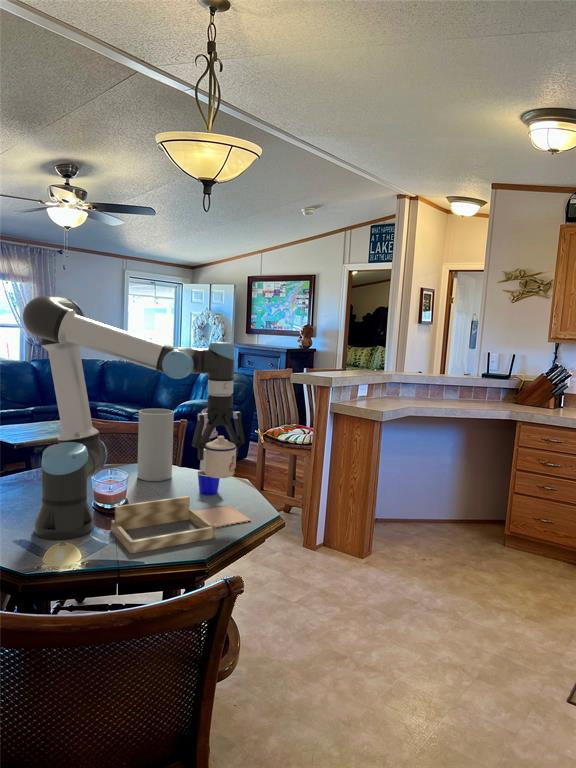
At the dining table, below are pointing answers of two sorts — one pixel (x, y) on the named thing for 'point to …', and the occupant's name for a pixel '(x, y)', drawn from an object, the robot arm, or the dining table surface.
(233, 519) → the terracotta tile
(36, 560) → the dining table surface
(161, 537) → the frame
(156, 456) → the cylinder vase
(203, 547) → the dining table surface
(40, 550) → the dining table surface
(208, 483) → the hyacinth
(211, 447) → the teacup with lid
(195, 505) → the dining table surface
